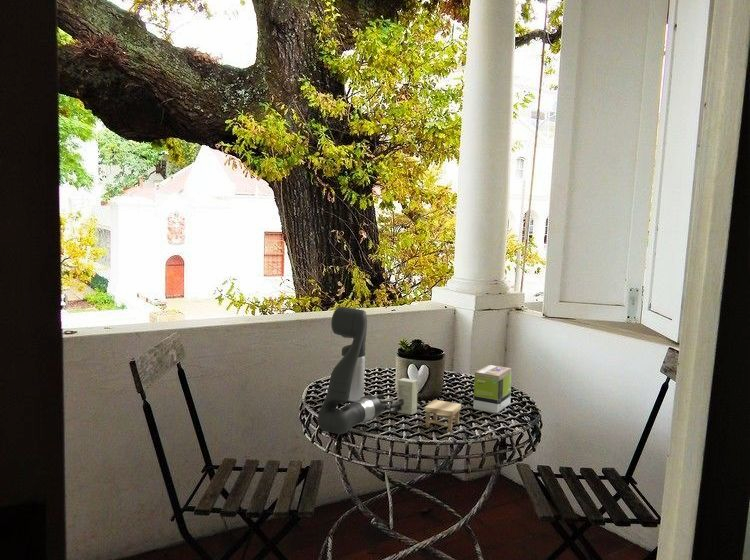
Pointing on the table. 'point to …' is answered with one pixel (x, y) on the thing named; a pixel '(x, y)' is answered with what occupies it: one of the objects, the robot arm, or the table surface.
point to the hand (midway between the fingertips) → (392, 399)
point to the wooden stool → (442, 412)
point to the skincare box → (408, 395)
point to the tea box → (492, 388)
